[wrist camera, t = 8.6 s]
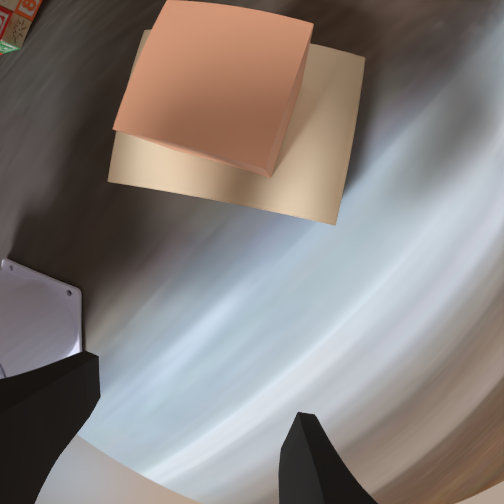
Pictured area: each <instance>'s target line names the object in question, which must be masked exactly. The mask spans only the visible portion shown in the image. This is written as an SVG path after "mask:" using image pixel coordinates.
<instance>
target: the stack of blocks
mask: <svg viewBox="0 0 504 504" xmlns="http://www.w3.org/2000/svg"><path fill="white" fill-rule="evenodd" d="M41 2H42V0H0V55H2V54H4V53H7V52H10V51H14V50H18V49H21V47H22V45H23V42H24V39H25V37H26V35H27V32H28V30H29V27H30V25H31V23H32V21H33V19H34V17H35V15H36V13H37V11H38V9H39V6H40V4H41Z"/></svg>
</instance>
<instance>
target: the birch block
mask: <svg viewBox="0 0 504 504" xmlns="http://www.w3.org/2000/svg"><path fill="white" fill-rule="evenodd" d="M150 32H151V30H145V31H144V33H143V36H142V39H141V42H140V45H139V48H138V51H137V55H136V58H135V61H134V64H133V68H132V71H131V75H130V78H129V81H130V79H131V76H132V73H133V71H134V69H135V66H136V64H137V61H138V59H139V57H140V54H141V52H142V50H143V48H144V45H145V43H146V41H147V39H148V37H149V35H150ZM364 64H365V57H361V56H358V55H355V54H351V53H348V52H344V51H340V50H336V49H332V48H328V47H324V46H320V45H315V44H311V43H310V46H309V51H308V56H307V61H306V65H305V70H304V75H303V80H302V85H301V88H300V91H299V94H298V97H297V100H296V103H295V106H294V109H293V112H292V115H291V118H290V121H289V124H288V127H287V130H286V133H285V136H284V139H283V142H282V145H281V148H280V151H279V154H278V157H277V160H276V163H275V166H274V170H273V173H272V176H271V178H269V177H265V176H262V175H259V174H256V173H253V172H250V171H246V170H243V169H240V168H236V167H233V166H230V165H226V164H223V163H219V162H216V161H212V160H209V159H205V158H202V157H198V156H194V155H191V154H187V153H183V152H179V151H176V150H172V149H169V148H167V147H164V146H161V145H158V144H155V143H152V142H149V141H147V140H144V139H141V138H138V137H135V136H132V135H129V134H126V133H123V132H120V131H117V132H116V136H115V141H114V147H113V152H112V158H111V163H110V169H109V176H108V182H112V183H119V184H125V185H132V186H138V187H144V188H150V189H156V190H162V191H168V192H174V193H179V194H185V195H191V196H196V197H202V198H207V199H212V200H217V201H223V202H228V203H233V204H238V205H243V206H248V207H253V208H258V209H263V210H268V211H272V212H277V213H282V214H286V215H291V216H296V217H300V218H305V219H309V220H314V221H318V222H322V223H327V224H331V225H336V221H337V217H338V212H339V208H340V203H341V199H342V194H343V189H344V184H345V179H346V175H347V169H348V164H349V159H350V154H351V148H352V143H353V137H354V132H355V126H356V120H357V114H358V107H359V101H360V94H361V87H362V80H363V72H364ZM128 84H129V82H128ZM127 86H128V85H127Z"/></svg>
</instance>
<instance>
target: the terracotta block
mask: <svg viewBox="0 0 504 504" xmlns="http://www.w3.org/2000/svg"><path fill="white" fill-rule="evenodd" d="M313 26H314V24H312V23H309V22H305V21H302V20H298V19H294V18H290V17H286V16H282V15H278V14H273V13H269V12H264V11H259V10H254V9H248V8H243V7H236V6H230V5H222V4H214V3H205V2H194V1H180V0H167V1H166V3H165V5H164V7H163V9H162V10H161V12H160V14H159V16H158V18H157V20H156V22H155V24H154V26H153V28H152V30H151V32H150V35H149V37H148V39H147V41H146V43H145V45H144V48H143V50H142V52H141V54H140V57H139V59H138V61H137V64H136V66H135V69H134V71H133V73H132V76H131V79H130V81H129V84H128V86H127V89H126V92H125V94H124V97H123V100H122V103H121V105H120V108H119V111H118V114H117V117H116V120H115V123H114V126H113V130H116V131H120V132H123V133H126V134H129V135H132V136H135V137H138V138H141V139H144V140H147V141H149V142H152V143H155V144H158V145H161V146H164V147H167V148H169V149H172V150H176V151H179V152H183V153H187V154H191V155H194V156H198V157H202V158H205V159H209V160H212V161H216V162H219V163H223V164H226V165H230V166H233V167H236V168H240V169H243V170H246V171H250V172H253V173H256V174H259V175H262V176H265V177H269V178H271V176H272V173H273V170H274V166H275V163H276V160H277V157H278V154H279V151H280V148H281V145H282V142H283V139H284V136H285V133H286V130H287V127H288V124H289V121H290V118H291V115H292V112H293V109H294V106H295V103H296V100H297V97H298V94H299V91H300V88H301V85H302V80H303V75H304V70H305V65H306V61H307V56H308V51H309V46H310V41H311V36H312V31H313Z"/></svg>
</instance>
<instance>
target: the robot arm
mask: <svg viewBox="0 0 504 504" xmlns="http://www.w3.org/2000/svg"><path fill="white" fill-rule="evenodd" d="M69 290H70V291H71V293H72V294H70V292H69ZM81 302H82V294H81V291H80V290H79V289H78V288H77V287H74V286H72V285H69V284H66V283H64V282H61V281H59V280H56V279H54V278H51V277H49V276H46V275H44V274H42V273H39V272H37V271H34V270H32V269H30V268H27V267H25V266H23V265H20V264H18V263H16V262H14V261H11V260H9V259H7V258H6V259H3V260H2V270H0V504H34V503H35V501H36V499H37V497H38V494H39V492H40V490H41V488H42V486H43V484H44V482H45V480H46V478H47V476H48V474H49V473H50V471H51V468H52V467H53V465H54V464H55V462H56V460H57V459H58V457H59V456H60V454H61V453H62V452H63V450H64V449H65V448H66V446H67V445H68V444H69V443H70V441H71V440H72V439H73V438H74V436H75V435H76V434H77V432H78V431H79V430H80V429H81V427H82V426H83V425H84V423H85V422H86V421H87V419H88V418H89V417H90V415H91V413H92V411H93V410H94V408H95V406H96V404H97V402H98V401H99V399H100V381H99V356H97V355H94V354H92V353H90V352H87V351H82V332H81ZM279 504H378V503H377V502H376V501H375V500H374V499H373V498H372V497H371V496H370V495H369V494H368V493H367V492H366V491H365V490H364V489H363V488H362V486H361V485H360V484H359V483H358V482H357V480H356V479H355V478H354V476H353V475H352V474H351V472H350V471H349V470H348V468H347V467H346V466H345V464H344V463H343V461H342V460H341V458H340V456H339V455H338V453H337V452H336V450H335V449H334V447H333V445H332V444H331V442H330V440H329V439H328V437H327V435H326V433H325V432H324V430H323V428H322V426H321V424H320V423H319V421H318V419H317V417H316V416H315V414H308V413H302V412H298V413H297V415H296V417H295V419H294V422H293V424H292V426H291V428H290V430H289V433H288V435H287V437H286V439H285V441H284V443H283V445H282V447H281V453H280V462H279Z"/></svg>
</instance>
